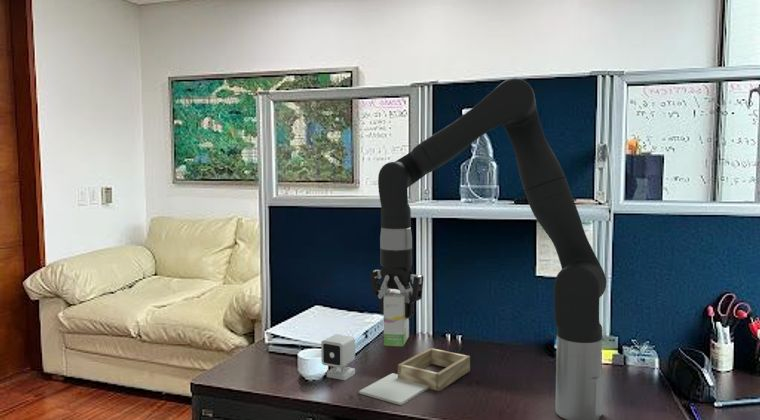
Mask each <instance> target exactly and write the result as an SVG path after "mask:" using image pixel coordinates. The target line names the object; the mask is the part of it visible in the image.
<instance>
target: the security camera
mask: <svg viewBox="0 0 760 420" xmlns="http://www.w3.org/2000/svg"><path fill="white" fill-rule="evenodd" d="M320 345H321V346H320V347H321V349H320V352H321V364H322V365H323V366H327V367H328V366H329V367H333V368H331V369H328V371H326V378H330V379H335V380H341V381H346V380H348V379H350V378H351V377H353V376H354V375H355V374H356V368H354V367H349V366H348V364H351V363H352V362H354V361H355V359H356V339H355V337H354V336H350V335H342V334H337V333H335V334H333V335H331V336H329V337H327V338H325V339H323V340H322V341H321V343H320Z"/></svg>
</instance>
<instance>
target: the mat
mask: <svg viewBox="0 0 760 420" xmlns="http://www.w3.org/2000/svg"><path fill="white" fill-rule="evenodd" d="M428 389H430V388H429V386H427V385H423V384H419V383H415V382H412V381H408V380H404V379H400V378H398V373H393V372H392V373H390V374H388V375H386V376H384V377H383V378H380V379H378V380H376V381H375V382H373V383H371V384H369V385H367V386H366V387H364V388H362V389H360V390H358V393H359V394H360V395H364V396H366V397H367V396H368V397H370V398H374V399H378V400H381V401H384V402H389V403H391V404H395V405H399V406H402V405H405V404H406V403H407V402H409V401H411V400H412V399H414V398H416V397H417V396H419V395H420V394H422V393H423V392H425V391H427V390H428Z"/></svg>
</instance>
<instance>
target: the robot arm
mask: <svg viewBox="0 0 760 420" xmlns="http://www.w3.org/2000/svg"><path fill="white" fill-rule="evenodd" d="M535 96H536V95H535V92H534V89H533V88H532V85H531V84H529V83H528V82H527V81H526V80H523V79H521V78H509V79H506V80H504V81H503V82H501V83H499V84H498V85H497V86H496V87H495V88H494V89H493V90H491V92H489V93H488V94H487V95H486V96H485V97H484V98H482V99H481V101H479V102H478V103H477V104H476V105H474V106H473V107H472V108H471V109H469V110H468V111H466V113H464V114H462V115H461V116H460V117H459V118H457V119H456V120H454V121H453V122H451V123H450V124H448V125H446V126H445V127H444V128H442V129H440V130H439V131H437V132H435V133H434V134H432V135H431V136H429V137H428V138H426V139H425V140H423V141H421V142H420V143H418V144H417V145H416V146H414V148H413V149H412V150H411V151H410V152H409V153H407V154H405V155H403V156H402V157H400V158H398V159H397V160H395V161H390V162H387V163H385V164H384V165H382V167H381V168H380V170H379V172H378V177H377V187H378V196H379V202H380V206H381V208H380V211H381V212H380V227H381V228H380V236H379V242H380V243H379V244H380V245H379V247H380V250H379V251H380V252H379V253H380V254H379V255H380V259H379V261H380V263H379V264H380V266H381V269H374V270H371V271H370V276H369V277H370V283H371V285H370V286H371V294H372V295H373V296H376V297H378V299H379V312H380V314H381V315H384V284H385V282H386V281H387V287H388V290H389V292H390V290H391V289H397V290H400V293H401V294H402V295H403V296H405V301H406V303H405V318H407V319H411V318H413V316H414V314H415V302H417V301H420V300H422V298H423V286H424V275H423V274H414V272H413V271H412V265H413V235H412V229H411V228H412V215H411V213H412V212H411V207H410V206H411V205H410V204H409V202H408V201H409V195H408V194H409V193H408V190H409V189H408V188H410V187H411V186H412V185H414V184H415V183H417V182H418V181H419V180H421V179H422V178H423V177H425V176H426V175H428V174H430V173H432V172H434V171H436V170H437V169H439V168H440V167H441V166H442V167H443V166H444V165H445V164H447V163H448V162H450V161H452V160H453V159H455V157H458V156H459V155H460V154H461V153H463V152H464V151H465V150H466V149H467V148H469V146H471V144H473V143H474V142H475V141H477V140H478V139H479V138H481V137H482V136H483V135H485V134H486V133H488V132H490V131H491V130H493V129H495V128H497V127H500V126H502V127H503V129H504V130H505V132H506V134H507V137H508V139H509V141H510V144H511V145H512V148H513V151H514V155H515V159H516V165H517V169H518V174H519V177H520V182H521V185H522V187H523V191H524V195H525V196H526V199H527V203H528V205H529V207H530V210H531V212H532V214H533V216H534V217H535V219H536V220H537V222H538V224H539V225H540V227H541V228H542V229H543V230H544V231H543V232H544V233H545V234H546V235H547V236H548V237H549V239H550V241H551V242H552V243H553V246H554V248H555V251H556V254H557V257H558V260H559V263H560V267H561V269H560V271H559V272H558V273H557V274H556V276H555V280H554V286H553V303H554V304H553V311H554V312H553V313H554V323H555V326H556V356H555V358H556V359H555V360H556V363H555V364H556V365H555V366H556V367H555V368H556V370H555V402H554V403H555V414H556V415H557V416H559V417H560V418H562V419H564V420H600V418H601V417H602V415H603V414H604V391H605V390H604V385H605V384H604V383H605V371H603V370H602V358H603V356H602V354H603V353H602V352H603V349H602V348H603V327H602V324H601V323H600V298H601V297H602V296H603V294H605V291H606V289H607V277H606V274H605V271H604V269H603V267H602V265H601V263H600V262H599V259H598V258H597V255H596V254H595V252H594V250H593V248H592V246H591V245H592V244H591V243H590V242H589V239H588V237H587V235H586V232H585V229H584V226H583V223H582V222H583V221H582V220H581V216H580V213H579V211H578V208H577V206H576V202H575V200H574V196H573V194H572V191H571V188H570V185H569V183H568V181H567V178H566V175H565V173H564V170H563V169H562V166H561V164H560V162H559V160H558V158H557V157H556V155H555V153H554V151H553V150H552V148H551V146H550V144H549V142H548V141H547V138H546V136H545V134H544V131H543V127H542V124H541V121H540V120H541V119H540V117H539V113H538V109H537V102H536V97H535ZM382 280H383V281H382ZM411 284H412V285H411ZM387 287H386V288H387Z"/></svg>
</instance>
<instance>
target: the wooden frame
mask: <svg viewBox="0 0 760 420" xmlns="http://www.w3.org/2000/svg"><path fill="white" fill-rule="evenodd" d="M431 365H436V366H439V367H445V368H443V369H441V370H440V371H438V372H436V371H432V370H428V369H425V368H426V367H429V366H431ZM470 371H471V355H468V354H467V355H466V354H463V353H457V352H451V351H448V350H442V349H437V348H433V347H428V349H425V350H423V351H422V352H419V353H418V354H416V355H414V356H411V357H410V358H408V359H406V360H404V361H402V362H400V363H399V364H397V374H398V378H400V379H404V380H408V381H412V382H415V383H419V384H423V385H427V386H429V388H428V389H431V390H433V391H438V392H440V391H442V390H443V389H445V388H447V387H448V386H450V384H451V385H452V383H454V382H456V381H457V380H458V379H460V378H461V377H463V376H465V375H466V374H468V373H469V372H470Z"/></svg>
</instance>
